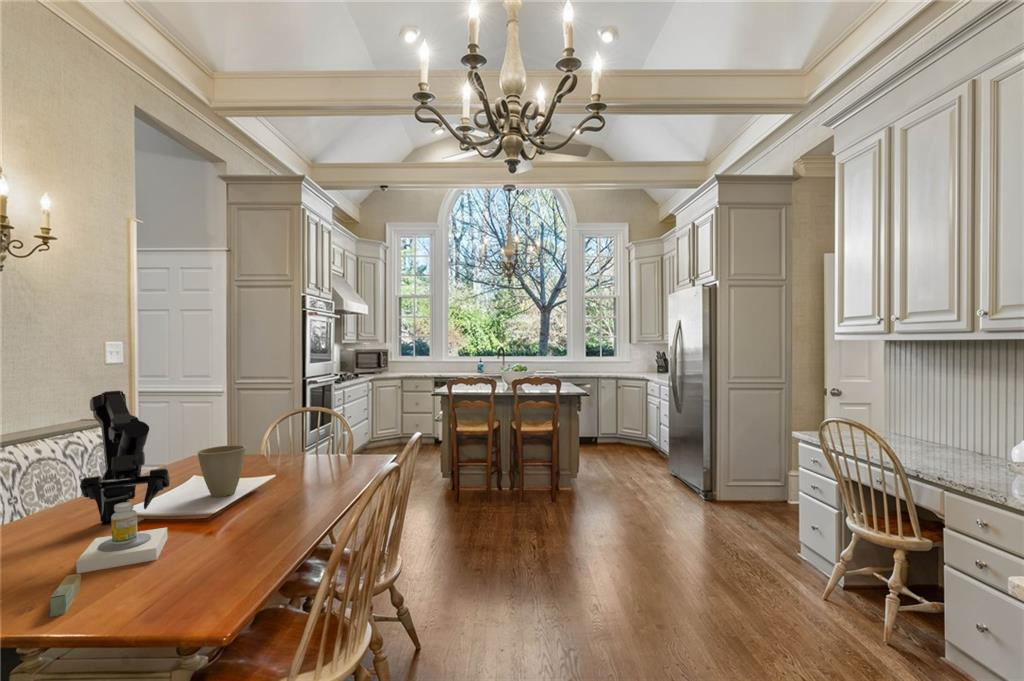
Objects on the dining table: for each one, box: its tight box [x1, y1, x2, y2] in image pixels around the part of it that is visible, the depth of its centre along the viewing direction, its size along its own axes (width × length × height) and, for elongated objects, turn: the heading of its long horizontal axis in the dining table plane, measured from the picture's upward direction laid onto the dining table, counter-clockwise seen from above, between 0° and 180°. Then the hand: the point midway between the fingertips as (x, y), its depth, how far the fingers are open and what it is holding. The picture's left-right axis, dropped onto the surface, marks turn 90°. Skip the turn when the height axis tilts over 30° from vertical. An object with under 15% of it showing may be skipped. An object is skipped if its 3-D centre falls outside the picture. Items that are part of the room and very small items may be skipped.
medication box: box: [48, 573, 82, 618], centre depth 112 cm, size 12×3×4 cm, turn 28°
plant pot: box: [196, 444, 246, 498], centre depth 188 cm, size 15×15×16 cm
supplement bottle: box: [110, 501, 138, 545], centre depth 137 cm, size 5×5×10 cm
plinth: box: [75, 526, 169, 574], centre depth 137 cm, size 16×16×3 cm
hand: (123, 511), depth 136 cm, fingers open, 9 cm apart
